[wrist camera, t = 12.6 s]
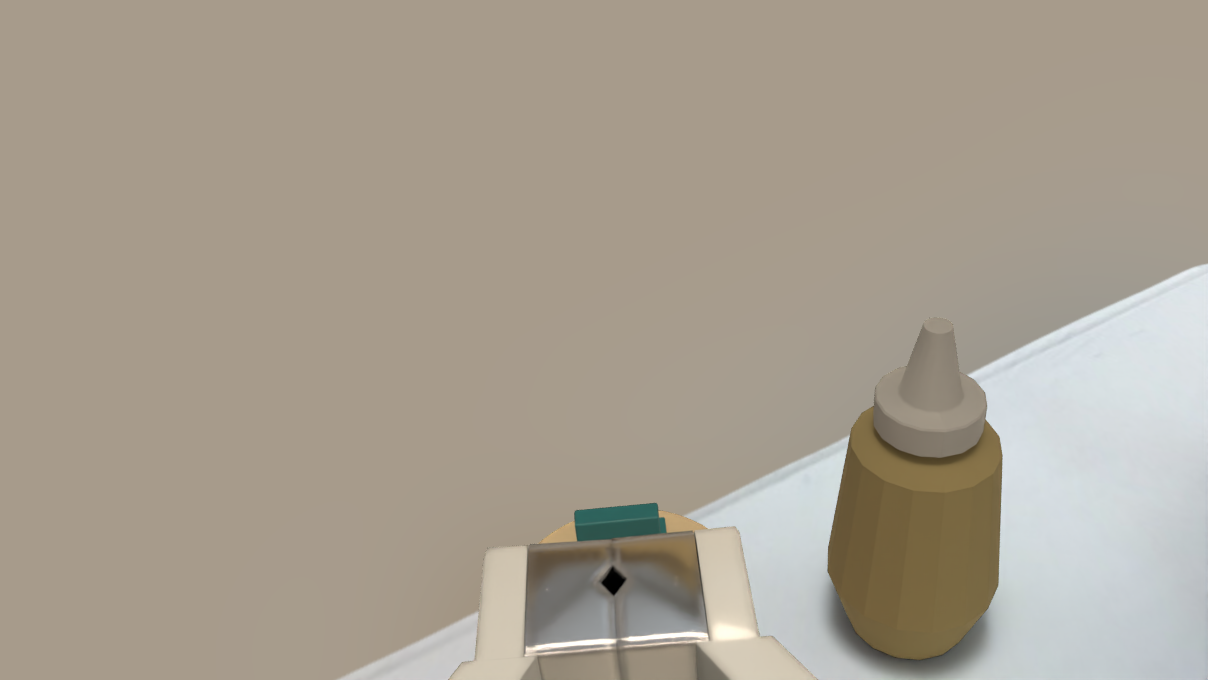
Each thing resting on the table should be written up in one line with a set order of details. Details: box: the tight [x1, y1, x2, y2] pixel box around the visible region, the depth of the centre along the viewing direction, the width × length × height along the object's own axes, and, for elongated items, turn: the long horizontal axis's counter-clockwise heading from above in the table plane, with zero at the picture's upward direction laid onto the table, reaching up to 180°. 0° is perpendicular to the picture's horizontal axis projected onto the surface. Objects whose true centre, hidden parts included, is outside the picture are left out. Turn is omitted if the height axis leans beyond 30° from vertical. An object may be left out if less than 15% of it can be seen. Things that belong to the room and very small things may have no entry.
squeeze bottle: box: [828, 317, 1002, 660], centre depth 47 cm, size 8×8×18 cm
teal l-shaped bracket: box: [574, 503, 667, 541], centre depth 39 cm, size 4×4×4 cm
